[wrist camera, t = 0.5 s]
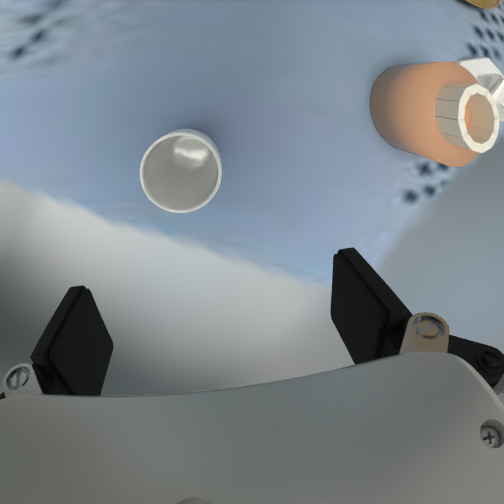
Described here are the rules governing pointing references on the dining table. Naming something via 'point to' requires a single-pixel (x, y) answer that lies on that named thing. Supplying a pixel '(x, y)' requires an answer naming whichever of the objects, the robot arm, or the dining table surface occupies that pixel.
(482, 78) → the soft serve ice cream
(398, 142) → the orange jar
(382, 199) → the dining table surface
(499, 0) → the plant saucer
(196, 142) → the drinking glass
